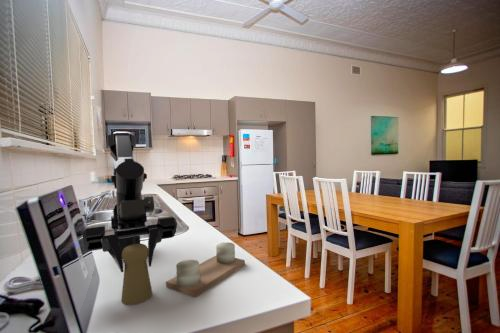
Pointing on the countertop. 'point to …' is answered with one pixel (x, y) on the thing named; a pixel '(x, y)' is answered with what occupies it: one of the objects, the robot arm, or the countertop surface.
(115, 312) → the countertop surface
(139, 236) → the robot arm
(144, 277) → the olive pepper mill
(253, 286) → the countertop surface
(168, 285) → the spice board
